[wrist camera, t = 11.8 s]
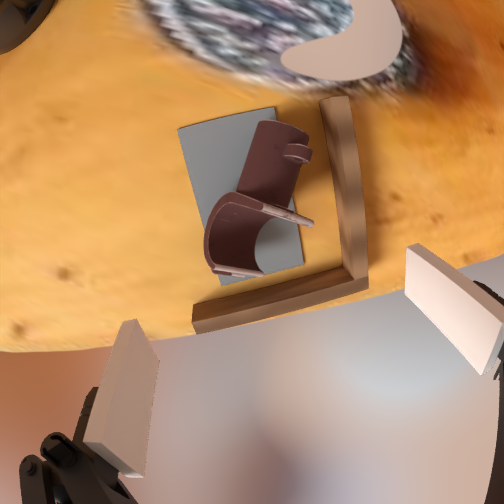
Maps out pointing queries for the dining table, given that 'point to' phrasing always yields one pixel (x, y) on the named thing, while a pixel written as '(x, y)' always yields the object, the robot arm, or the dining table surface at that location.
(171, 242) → the dining table surface
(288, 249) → the mat
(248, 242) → the bracket
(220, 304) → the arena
